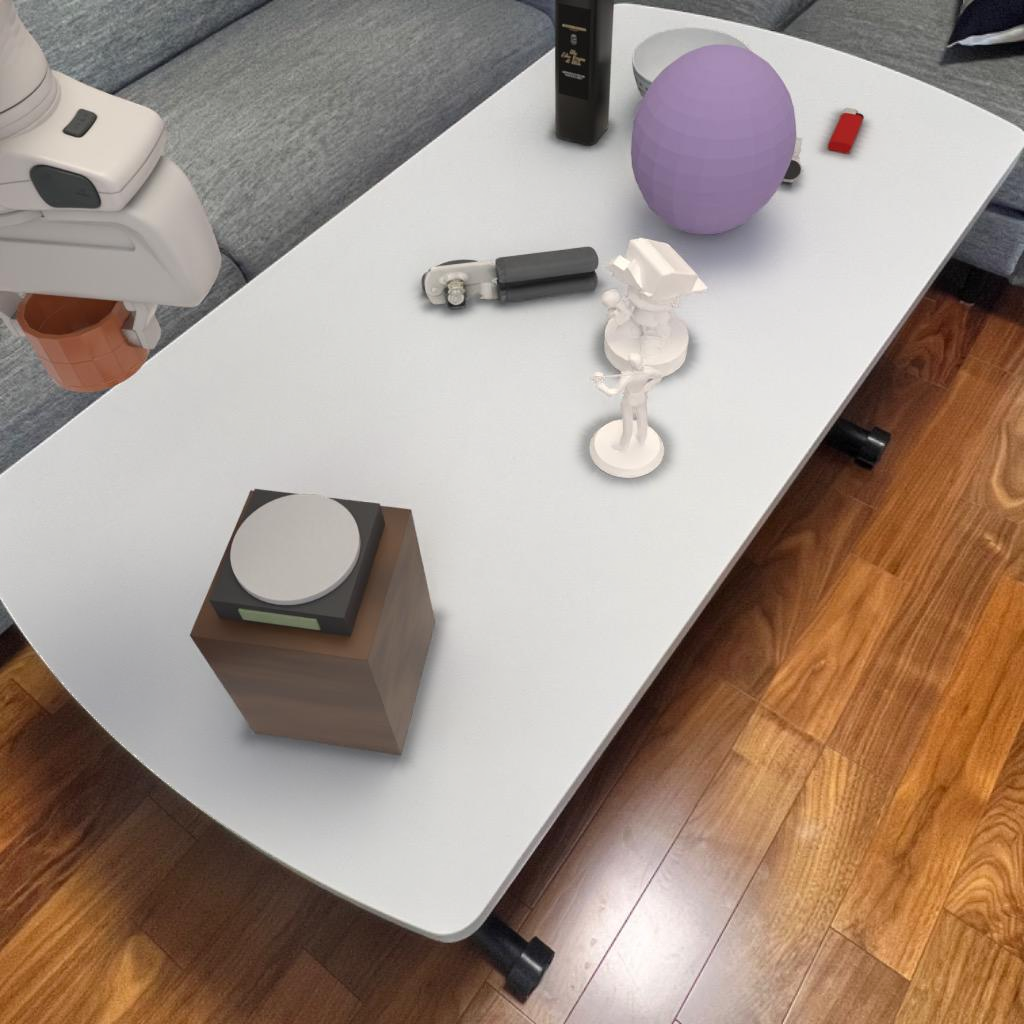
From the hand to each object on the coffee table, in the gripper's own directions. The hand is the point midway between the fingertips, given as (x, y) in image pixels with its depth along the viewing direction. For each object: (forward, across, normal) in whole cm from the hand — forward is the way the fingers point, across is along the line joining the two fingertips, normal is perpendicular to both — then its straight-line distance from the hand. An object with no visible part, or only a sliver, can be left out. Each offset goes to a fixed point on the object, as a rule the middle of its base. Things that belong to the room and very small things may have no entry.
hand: (89, 336), depth 60 cm
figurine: (+28, +34, +19) cm, 48 cm away
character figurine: (+28, +36, +33) cm, 56 cm away
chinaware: (+27, +37, +76) cm, 89 cm away
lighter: (+27, +57, +74) cm, 97 cm away
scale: (+12, +14, -8) cm, 20 cm away
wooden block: (+28, +14, -8) cm, 33 cm away
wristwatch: (+27, +50, +64) cm, 86 cm away
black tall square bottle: (+27, +24, +71) cm, 80 cm away
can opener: (+28, +20, +40) cm, 53 cm away
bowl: (+2, 0, 0) cm, 2 cm away
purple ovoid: (+28, +40, +54) cm, 73 cm away
